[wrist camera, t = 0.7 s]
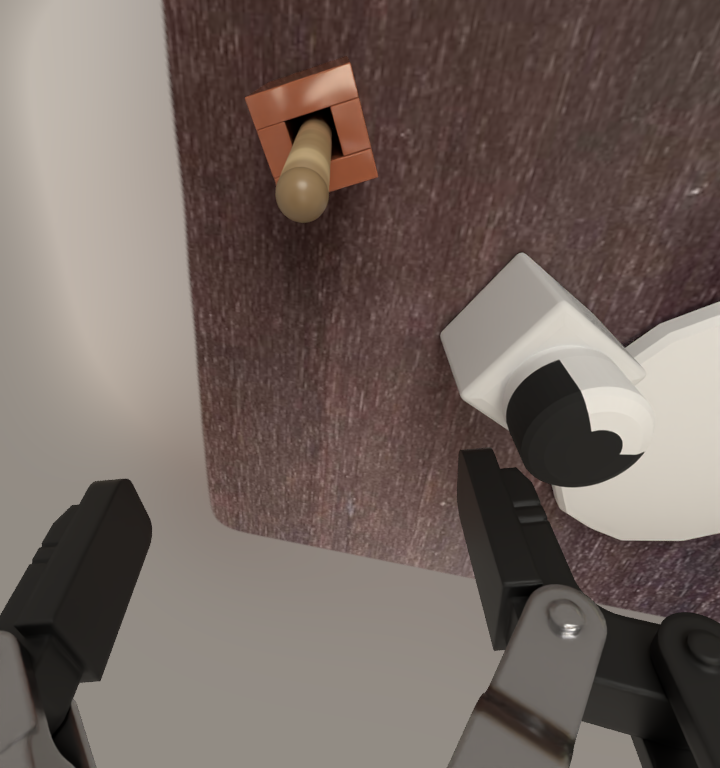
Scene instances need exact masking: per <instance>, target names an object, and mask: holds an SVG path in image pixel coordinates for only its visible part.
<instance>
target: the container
mask: <svg viewBox="0 0 720 768" xmlns="http://www.w3.org/2000/svg"><path fill="white" fill-rule="evenodd" d="M440 338H441V341H442V344H443V347H444V350H445V353H446V355H447V358H448V361H449V364H450V367H451V370H452V373H453V376H454V379H455V382H456V385H457V387H458V390H459V393H460V396H461V398H462V399H463V400H464V401H466V402H467V403H469V404H470V405H472V406H473V407H475V408H476V409H477V410H479V411H480V412H482V413H483V414H485V415H486V416H488V417H489V418H491V419H492V420H494V421H495V422H497V423H498V424H500V425H501V426H503V427H504V428H506V429H507V430H509V432H510V434H511V436H512V438H513V441H514V443H515V445H516V448H517V450H518V452H519V454H520V457H521V459H522V461H523V463H524V465H525V467H526V469H527V470H528V471H529V472H530V473H531V474H532V475H533V476H534V477H536V478H537V479H539V480H541V481H543V482H546V483H548V484H552V485H556V486H560V487H570V488H576V487H586V486H591V485H595V484H599V483H602V482H604V481H607V480H609V479H612V478H614V477H616V476H618V475H619V474H621V473H623V472H624V471H626V470H627V469H629V468H630V467H631V466H632V465H633V464H635V463H636V462H637V461H638V460H639V459H640V458H641V456H642V455H643V454H644V452H645V451H646V449H647V448H648V446H649V444H650V441H651V439H652V436H653V433H654V429H655V416H654V412H653V409H652V407H651V406H650V404H649V403H648V401H647V400H646V399H645V398H644V397H643V395H642V394H641V393H640V392H639V391H638V390H637V388H636V387H635V385H636V384H638V383H639V382H640V381H641V380H643V379H644V378H645V377H646V372H645V370H644V368H643V367H642V366H641V365H640V364H639V363H638V362H637V361H636V360H635V359H634V358H633V356H632V355H631V354H630V353H629V352H628V351H627V350H626V349H625V348H624V347H623V346H622V345H621V344H620V342H619V341H618V340H617V339H616V338H615V337H614V336H613V335H612V334H611V333H610V332H609V331H608V329H607V328H606V327H605V326H604V325H603V324H602V323H601V322H600V321H599V320H598V319H597V318H596V317H595V315H594V314H593V313H592V312H590V311H589V310H588V309H587V308H586V307H585V306H584V305H583V304H581V303H580V302H579V301H578V300H577V299H576V298H575V297H574V296H572V295H571V294H570V293H569V292H568V291H567V290H566V289H565V288H563V287H562V286H561V285H560V284H559V283H558V282H557V281H556V280H554V279H553V278H552V277H551V276H550V275H549V274H548V273H547V272H545V271H544V270H543V269H542V268H541V267H540V266H539V265H538V264H536V263H535V262H534V261H533V260H532V259H531V258H530V257H529V256H527V255H526V254H524V253H519V254H517V255H516V256H515V257H514V258H513V259H512V260H511V261H510V262H509V263H508V264H507V265H506V266H505V267H504V268H503V269H502V270H501V271H500V272H499V273H498V274H497V275H496V276H495V278H494V279H493V280H492V281H491V282H490V283H489V284H488V285H487V286H486V287H485V288H484V289H483V290H482V291H481V292H480V293H479V294H478V295H477V296H476V297H475V298H474V299H473V300H472V301H471V302H470V303H469V304H468V305H467V306H466V307H465V308H464V309H463V310H462V311H461V312H460V313H459V314H458V315H457V316H456V317H455V318H454V319H453V321H452V322H451V323H450V324H449V325H448V326H447V327H446V328H445V329H444V330H443V331H442V332H441V334H440Z"/></svg>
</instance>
